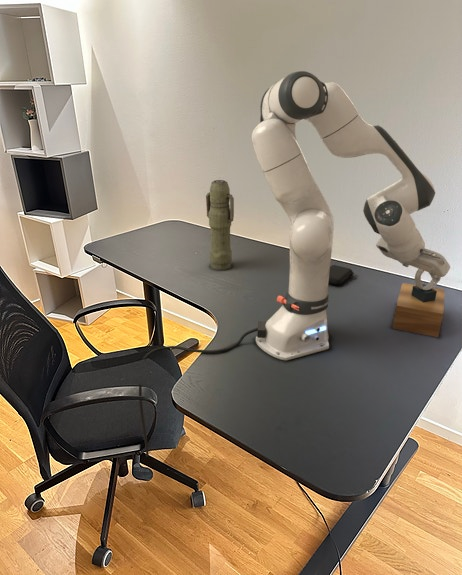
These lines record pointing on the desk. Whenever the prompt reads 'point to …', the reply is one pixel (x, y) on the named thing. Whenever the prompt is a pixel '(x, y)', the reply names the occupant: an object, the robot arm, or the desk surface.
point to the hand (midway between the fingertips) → (420, 269)
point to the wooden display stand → (419, 312)
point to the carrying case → (339, 274)
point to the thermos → (220, 224)
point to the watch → (424, 288)
